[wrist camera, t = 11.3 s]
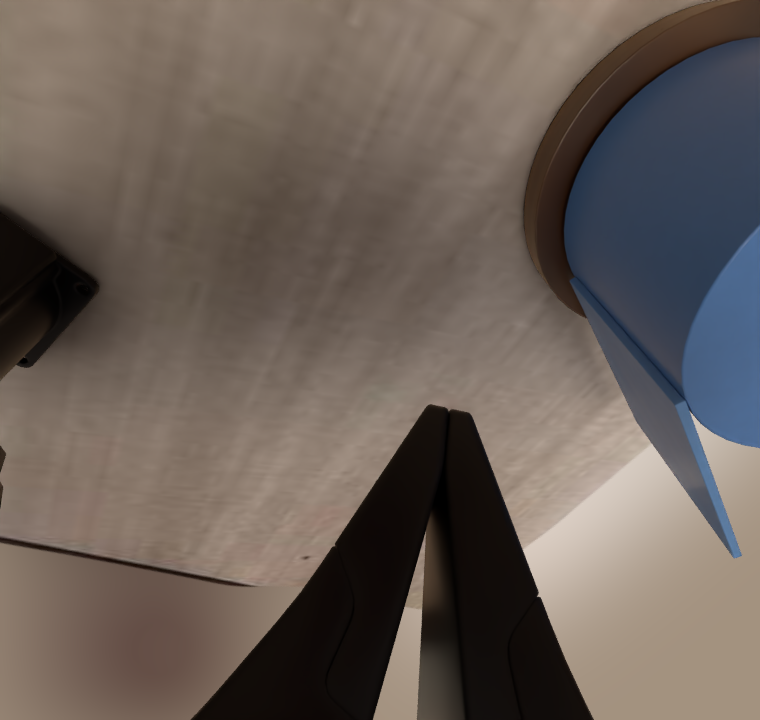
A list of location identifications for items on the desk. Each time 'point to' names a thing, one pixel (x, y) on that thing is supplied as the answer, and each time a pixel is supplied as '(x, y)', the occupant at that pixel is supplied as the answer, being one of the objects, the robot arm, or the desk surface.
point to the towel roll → (679, 259)
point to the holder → (600, 105)
